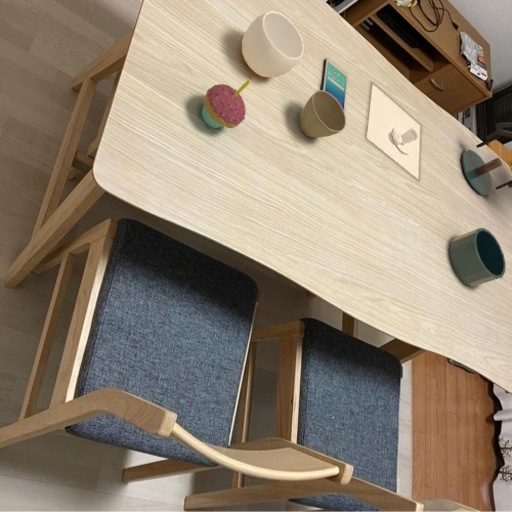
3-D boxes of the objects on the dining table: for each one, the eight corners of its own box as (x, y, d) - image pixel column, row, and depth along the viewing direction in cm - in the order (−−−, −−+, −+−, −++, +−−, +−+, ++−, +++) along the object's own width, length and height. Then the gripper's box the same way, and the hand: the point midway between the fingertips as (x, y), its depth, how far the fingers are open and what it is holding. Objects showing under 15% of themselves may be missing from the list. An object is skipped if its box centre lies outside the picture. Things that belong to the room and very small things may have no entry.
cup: (284, 71, 129) (314, 46, 122) (262, 97, 121) (292, 71, 114) (247, 28, 126) (275, -1, 119) (222, 51, 118) (251, 22, 111)
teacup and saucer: (388, 142, 147) (401, 134, 144) (390, 120, 151) (402, 112, 148) (410, 160, 151) (423, 153, 148) (411, 138, 155) (424, 131, 152)
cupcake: (201, 89, 110) (238, 53, 102) (234, 116, 114) (273, 84, 105) (187, 119, 105) (225, 84, 97) (223, 146, 109) (262, 114, 100)
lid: (484, 162, 180) (508, 150, 174) (492, 202, 174) (517, 191, 168) (457, 144, 172) (481, 131, 166) (463, 186, 165) (489, 174, 160)
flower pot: (326, 124, 132) (348, 108, 127) (319, 155, 127) (343, 140, 122) (294, 98, 128) (316, 81, 123) (286, 129, 123) (309, 112, 118)
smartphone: (348, 73, 144) (344, 116, 137) (345, 74, 145) (342, 118, 137) (327, 56, 141) (322, 99, 133) (324, 58, 141) (319, 101, 134)
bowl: (475, 246, 158) (500, 236, 153) (483, 292, 152) (509, 283, 147) (445, 231, 151) (471, 221, 145) (452, 279, 145) (479, 270, 140)
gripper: (535, 91, 153) (465, 129, 168) (574, 176, 150) (500, 207, 166) (544, 91, 158) (475, 128, 173) (583, 173, 156) (510, 203, 171)
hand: (487, 167), depth 169 cm, fingers open, 13 cm apart
